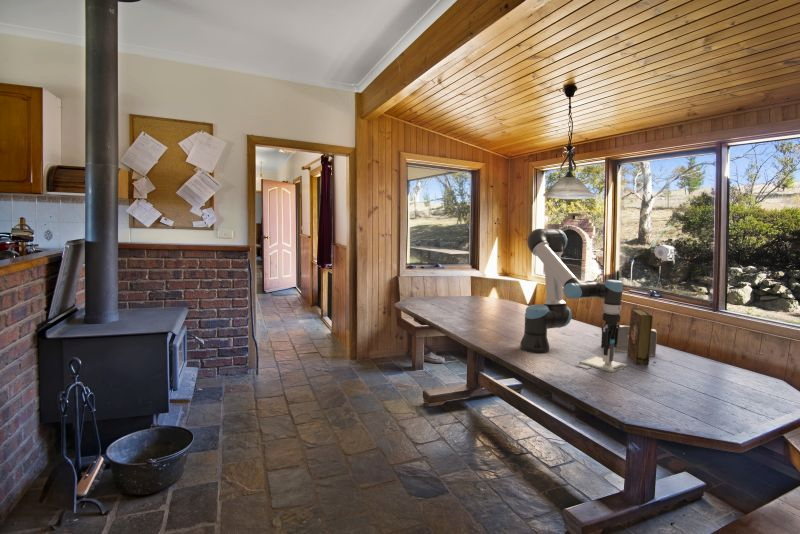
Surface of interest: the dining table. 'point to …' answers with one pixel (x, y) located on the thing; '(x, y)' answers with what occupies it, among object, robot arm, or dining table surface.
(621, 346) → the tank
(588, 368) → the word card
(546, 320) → the robot arm
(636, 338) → the book
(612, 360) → the marker
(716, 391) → the dining table surface
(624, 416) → the dining table surface
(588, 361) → the cream square framed board
